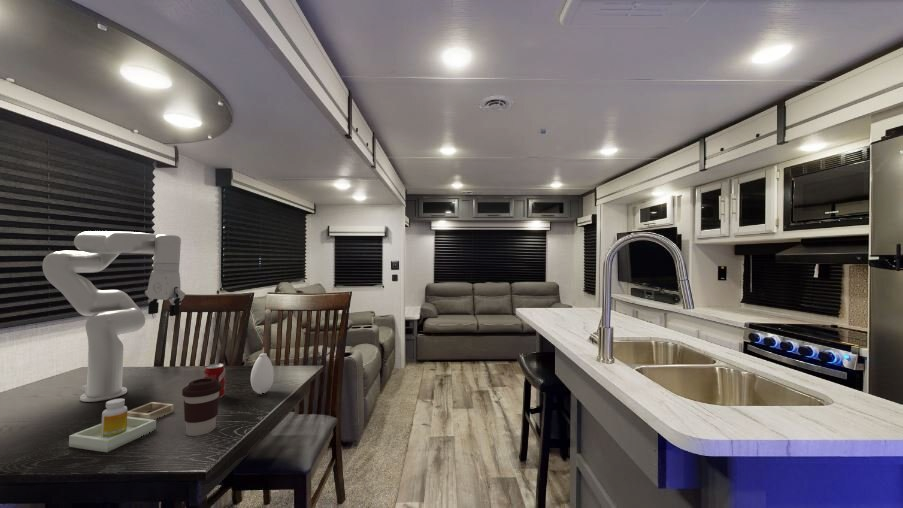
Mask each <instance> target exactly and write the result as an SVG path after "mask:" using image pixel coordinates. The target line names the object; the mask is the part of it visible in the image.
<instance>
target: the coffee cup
mask: <svg viewBox="0 0 903 508" xmlns="http://www.w3.org/2000/svg"><path fill="white" fill-rule="evenodd" d="M221 389H222V383H220V382H217V380H216V379H214V378H204V377H203V378H198V379H194V380H192V381H190V382H189V383H188V385H187V386H185V387H183V388H182V390H181V395H182V396H183V397H184V400H183V412H184V414H183V415H184V417H183V418H184V422H185V434H186V435H187V436H188V437H200V436H203V435H207V434H209V433H211V432H212V431H214V430H215V429H216V426H217V425H216V423H217V417H218V416H217V415H218V413H219V406H220V405H219V403H220V398H219V397H220V395H219V391H220V390H221Z"/></svg>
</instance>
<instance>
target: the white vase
mask: <svg viewBox="0 0 903 508" xmlns="http://www.w3.org/2000/svg"><path fill="white" fill-rule="evenodd" d="M267 354H268V353H265V348H264V347H262V353H260V354H259V355H258V357H257V359H256V360H255V362H254V364H253V367H252V369H251V372H250V385H251V388H252V390H253V391H254V392H255V393H256V394H258V395H263V394H262V393H264V394H265V393H267V392H268V391H270V389H271V387H272V385H273V383H274V377H275V372H274V367H273V363H272V361H271V358H270V357H268V355H267Z"/></svg>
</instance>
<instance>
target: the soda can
mask: <svg viewBox="0 0 903 508" xmlns="http://www.w3.org/2000/svg"><path fill="white" fill-rule="evenodd" d="M203 378H214V379H216V380H217V382H220V383H222V389H221V390H220V391H219V395H220V397H219V399H221V398H223V396H225V394H226V393H225V392H226V390H225V388H226V367H224V363H213V364H209V365H208V364H207V365H206V366H205V370H204V371H203Z"/></svg>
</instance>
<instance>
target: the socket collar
mask: <svg viewBox="0 0 903 508" xmlns="http://www.w3.org/2000/svg"><path fill="white" fill-rule="evenodd" d="M174 406H175V404H174V403H173V404H172V403H164V402H155V401H151V402H149V403H146V404H143V405H140V406H138V407H135V408H132V409H129V410H127V416H128V417H136V418H144V419H152V420H154V419H155V420H158V419H159V417H160V418H162V417H165V416H167V415H169V414H171V413H174V409H175V407H174ZM149 411H150V412H149ZM164 415H165V416H164ZM157 418H158V419H157Z"/></svg>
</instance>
